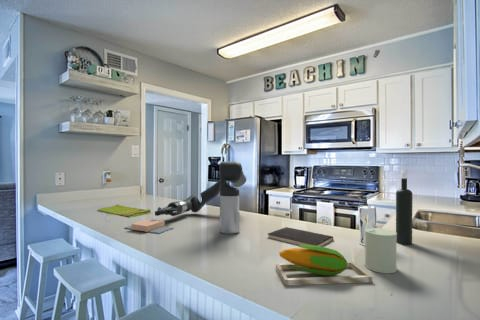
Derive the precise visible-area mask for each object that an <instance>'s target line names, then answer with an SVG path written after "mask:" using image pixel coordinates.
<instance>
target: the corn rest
mask: <svg viewBox="0 0 480 320" xmlns="http://www.w3.org/2000/svg"><path fill="white" fill-rule="evenodd" d="M347 263H348V265H347V267H346V268H351V269H352V270H353V271H355V273H357V274H358V275H342V276H340V275H339V276H337V275H336V276H315V277H289V278H288V277H287V274H286V273H285V272H284V271H285V270H286V271H287V270H294V269H293V268H291V267H288V266H289V265H290V266H296V267H301V268H306V267H302V266H298V265H295V264H293V263H290V262H288V263H287V262H286V263H275V270H276V272H277V273H278V275H279V277H280V279H281V280H282V283H283V285H284V286H306V285H308V286H309V285H331V284H332V285H333V284H335V285H336V284H337V285H338V284H356V283H359V284H360V283H362V284H363V283H373V276H372V274H369V273H368V272H367V271H366V270H364V269H363V268H361V267H360V266H359V265H357V263H355V262H353V261H347ZM307 269H311V268H307Z"/></svg>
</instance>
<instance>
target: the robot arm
mask: <svg viewBox="0 0 480 320" xmlns="http://www.w3.org/2000/svg"><path fill="white" fill-rule="evenodd" d="M218 170H219V171H218V172H219V180H217V182H215V183H214V184H213V185H211V186H210V187H208V188H207V189H205V190H203V191H201V193H200V198H201V201H200V200H199V198H198V197H197V195H196V194H195V195H193V194H192V195H190V196H189V197H187V198H186V199H184V200H183V199H182V200H176V201H172V202H169V204H167V206H165V207H161V206H159V207H157V210H155V211H154V216H158V217H159V216H164V215H165V216H171V217H176V216H178V215H181V214H184V213H187V212H190V211H191V212H192V213H198V212H199V211H201V209H202V208H203V207H204V206H205V205H206V204H207V203H208V202H210V201H212V200H213V199H215V198H216V197H217V196H219V232H220V233H221V234H227V235H228V234H229V235H231V234H233V235H234V234H237V233H240V231H241V229H240V228H241V227H240V226H241V224H240V222H241V221H240V220H241V219H240V216H241V214H240V213H241V212H240V189H238V188H240V187H242V186H244V185H245V183H246V182H247V177H246V176H245V173H244V171H243V166H242V164H241V163H240V162H239V161H233V160H232V161H231V160H230V161H221V162H220V163H219V169H218ZM227 181H228V182H229V183H231V184H232V185H233V186H232V185H230V184H228V182H227Z"/></svg>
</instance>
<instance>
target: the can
mask: <svg viewBox="0 0 480 320" xmlns="http://www.w3.org/2000/svg"><path fill="white" fill-rule="evenodd" d="M396 240H397V233H396V231H394V230H392V229H387V228H382V227H375V228H367V229H365V246H364V265H363V266H364V267H365V268H366V269H367V270H370V271H373V272H375V273H380V274H394V273H396V272H397V271H398V269H397V242H396Z"/></svg>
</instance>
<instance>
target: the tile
mask: <svg viewBox="0 0 480 320" xmlns="http://www.w3.org/2000/svg"><path fill="white" fill-rule="evenodd" d="M165 221H166V220H161V219H153V218H148V219H145V220H141V221H137V222H134V223H131V225H130V226H131V229H133V231H137V230H140V231H139V232H143V231H146V232H145V233H149V232H148V231H151V230H154V229H157V228H160V227H163V226H165V227H166V225H165V224H166V222H165Z"/></svg>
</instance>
